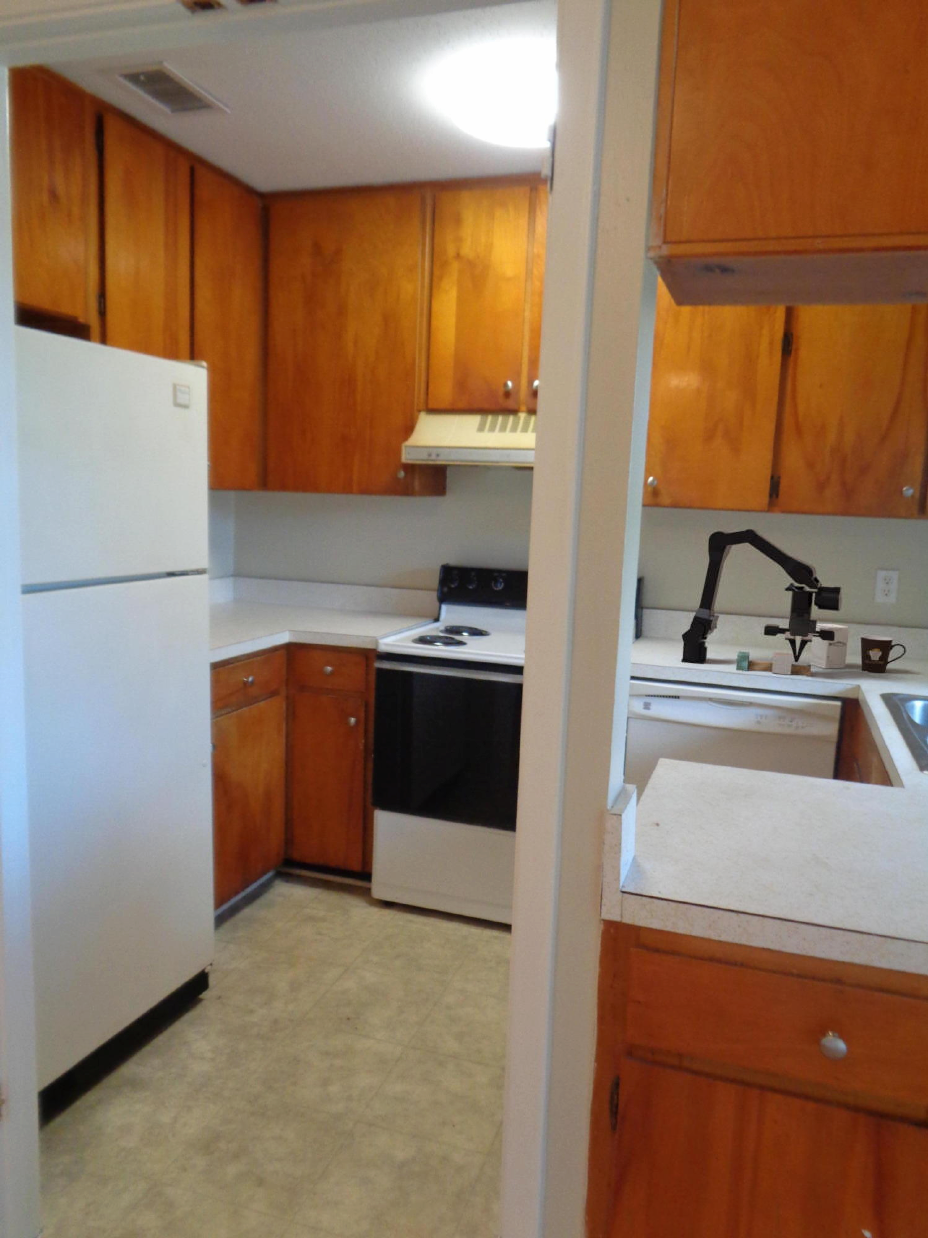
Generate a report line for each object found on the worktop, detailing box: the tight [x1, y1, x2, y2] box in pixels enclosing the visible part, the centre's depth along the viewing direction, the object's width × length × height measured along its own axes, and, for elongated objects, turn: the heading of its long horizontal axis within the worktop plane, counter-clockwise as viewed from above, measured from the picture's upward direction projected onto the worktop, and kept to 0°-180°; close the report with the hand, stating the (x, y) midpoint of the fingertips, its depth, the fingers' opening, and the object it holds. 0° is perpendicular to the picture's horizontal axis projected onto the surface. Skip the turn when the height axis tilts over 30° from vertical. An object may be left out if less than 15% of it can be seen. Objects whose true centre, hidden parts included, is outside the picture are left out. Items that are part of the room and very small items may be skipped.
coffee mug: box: [860, 635, 907, 674], centre depth 263 cm, size 12×9×10 cm
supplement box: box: [809, 623, 850, 669], centre depth 270 cm, size 7×7×13 cm
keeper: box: [771, 651, 793, 676], centre depth 257 cm, size 5×7×5 cm
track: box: [735, 650, 812, 677], centre depth 258 cm, size 20×7×4 cm, turn 69°
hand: (796, 662), depth 256 cm, fingers closed
